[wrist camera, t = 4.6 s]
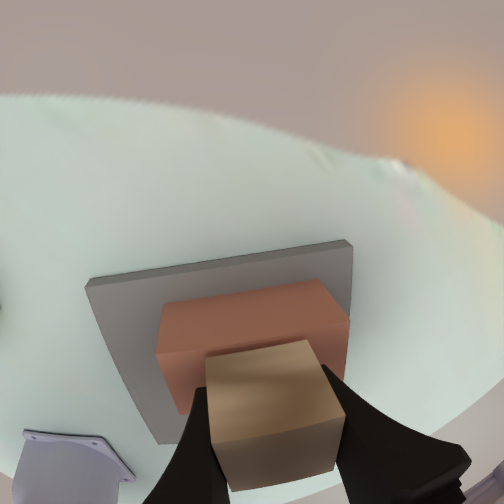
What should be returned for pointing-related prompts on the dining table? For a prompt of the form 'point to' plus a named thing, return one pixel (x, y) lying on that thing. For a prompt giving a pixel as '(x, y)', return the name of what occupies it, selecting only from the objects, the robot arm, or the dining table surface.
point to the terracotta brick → (247, 331)
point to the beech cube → (272, 415)
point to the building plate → (187, 288)
